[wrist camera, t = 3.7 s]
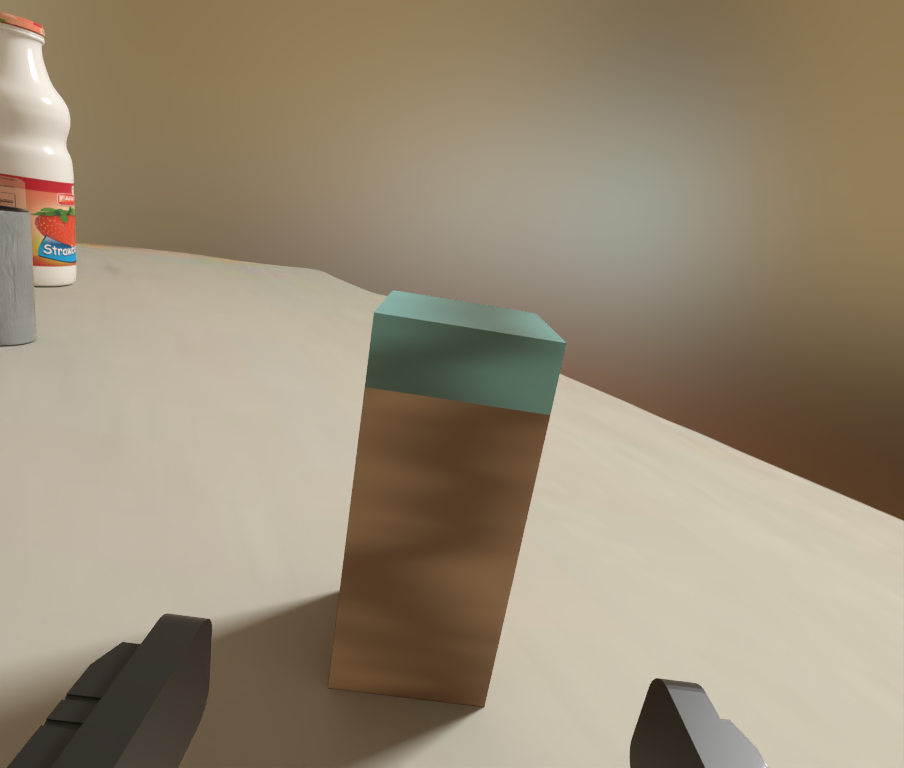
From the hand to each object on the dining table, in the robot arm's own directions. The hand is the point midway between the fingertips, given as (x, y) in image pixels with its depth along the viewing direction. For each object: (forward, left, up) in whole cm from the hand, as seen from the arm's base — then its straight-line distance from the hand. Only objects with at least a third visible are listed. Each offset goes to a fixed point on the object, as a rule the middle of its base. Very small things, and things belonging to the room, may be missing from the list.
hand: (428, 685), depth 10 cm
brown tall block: (0, +8, -6) cm, 11 cm away
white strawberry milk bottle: (-50, +59, -7) cm, 78 cm away
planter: (-35, +35, -7) cm, 50 cm away
